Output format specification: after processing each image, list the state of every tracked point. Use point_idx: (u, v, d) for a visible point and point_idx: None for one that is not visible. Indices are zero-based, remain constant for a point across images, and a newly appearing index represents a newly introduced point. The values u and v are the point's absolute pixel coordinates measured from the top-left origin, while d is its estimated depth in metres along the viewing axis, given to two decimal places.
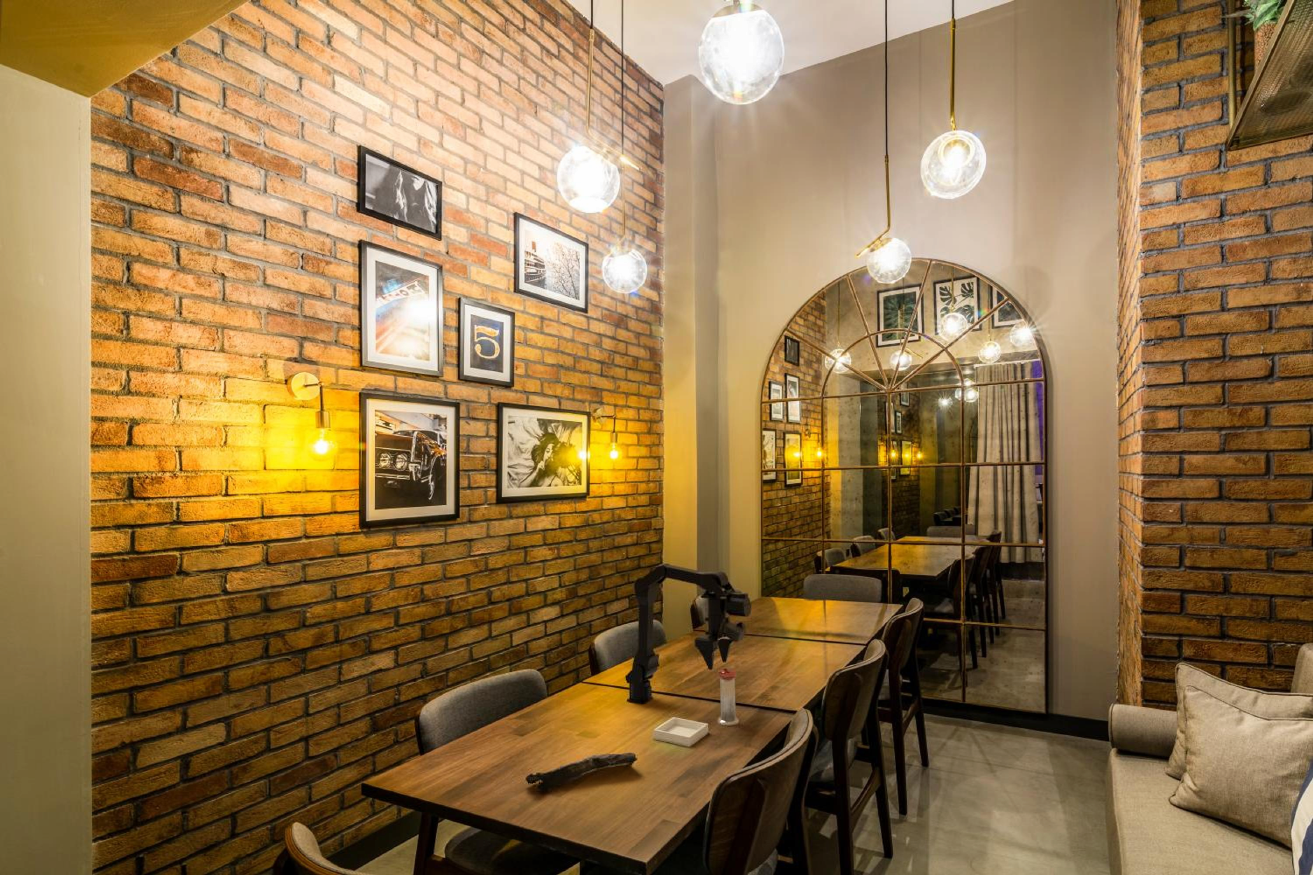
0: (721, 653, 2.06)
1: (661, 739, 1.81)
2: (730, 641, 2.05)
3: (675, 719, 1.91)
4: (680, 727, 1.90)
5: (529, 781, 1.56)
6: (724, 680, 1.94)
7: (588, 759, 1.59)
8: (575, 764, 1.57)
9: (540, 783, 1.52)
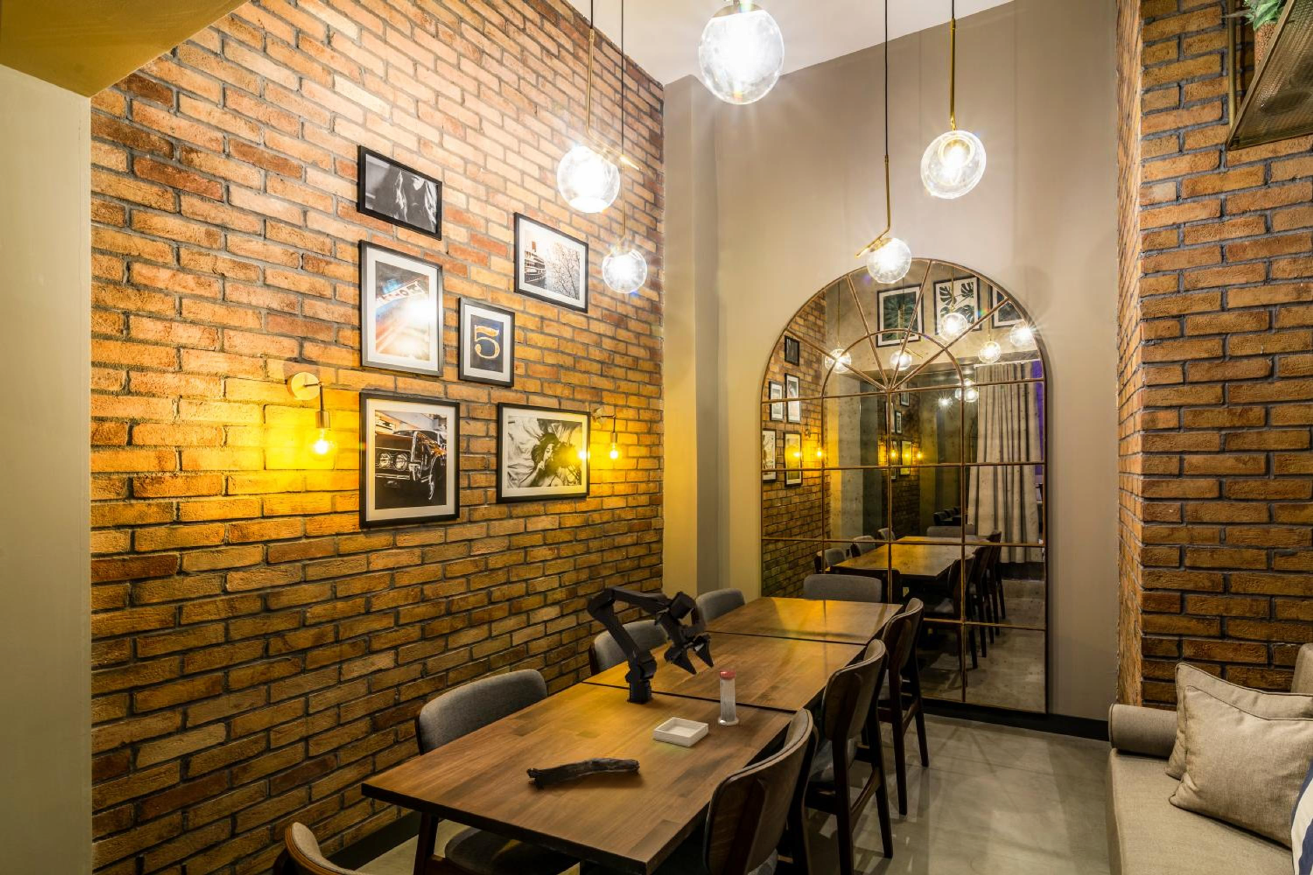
0: (705, 661, 2.06)
1: (661, 739, 1.81)
2: (704, 645, 2.07)
3: (675, 719, 1.91)
4: (680, 727, 1.90)
5: (531, 775, 1.59)
6: (724, 680, 1.94)
7: (588, 761, 1.58)
8: (574, 764, 1.57)
9: (536, 779, 1.54)
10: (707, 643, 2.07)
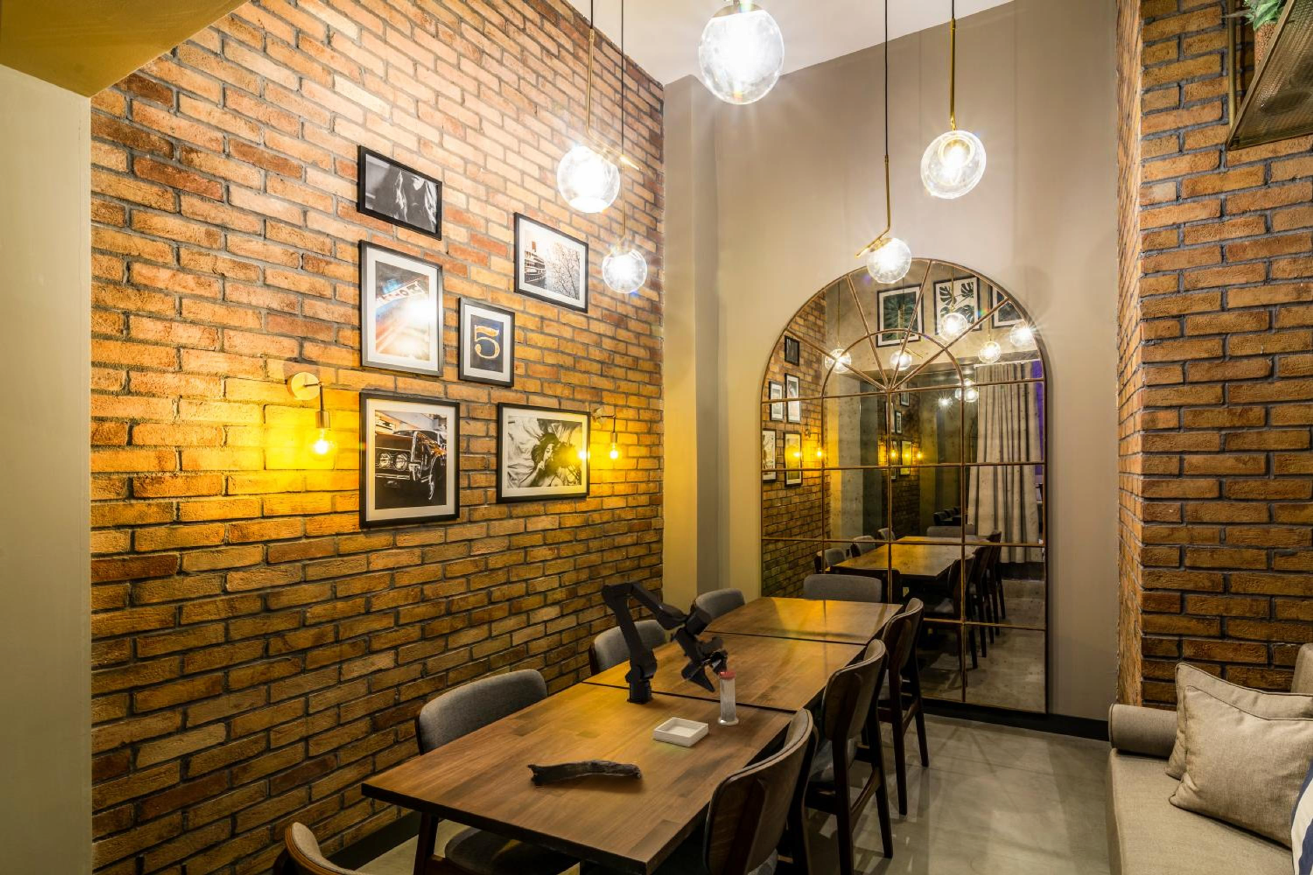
0: None
1: (661, 739, 1.81)
2: (722, 661, 2.03)
3: (675, 719, 1.91)
4: (680, 727, 1.90)
5: (534, 771, 1.61)
6: (724, 680, 1.94)
7: (587, 762, 1.57)
8: (572, 764, 1.57)
9: (534, 775, 1.56)
10: (724, 659, 2.03)
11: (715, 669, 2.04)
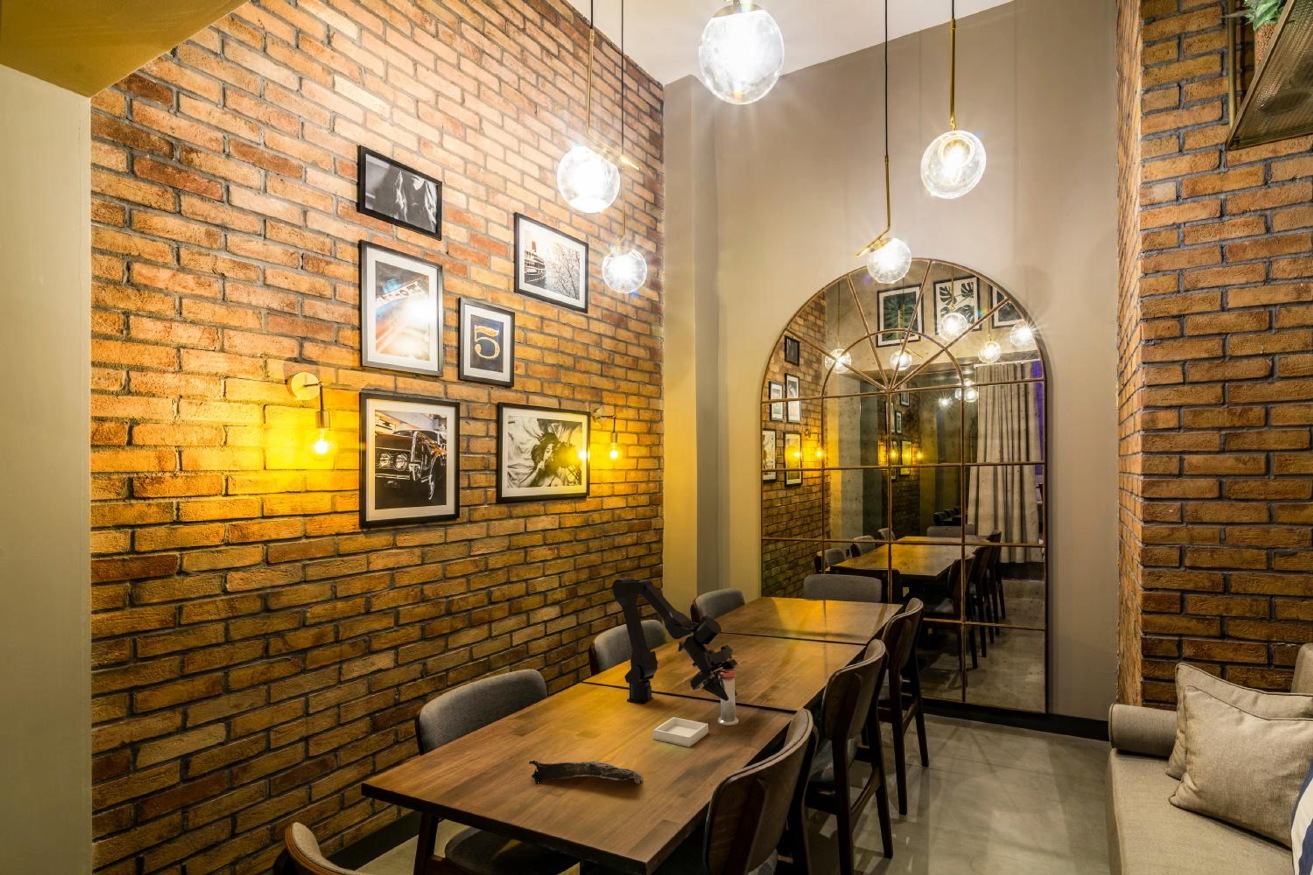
0: None
1: (661, 739, 1.81)
2: None
3: (675, 719, 1.91)
4: (680, 727, 1.90)
5: None
6: (724, 680, 1.94)
7: (585, 763, 1.56)
8: (571, 764, 1.57)
9: (535, 772, 1.58)
10: None
11: None
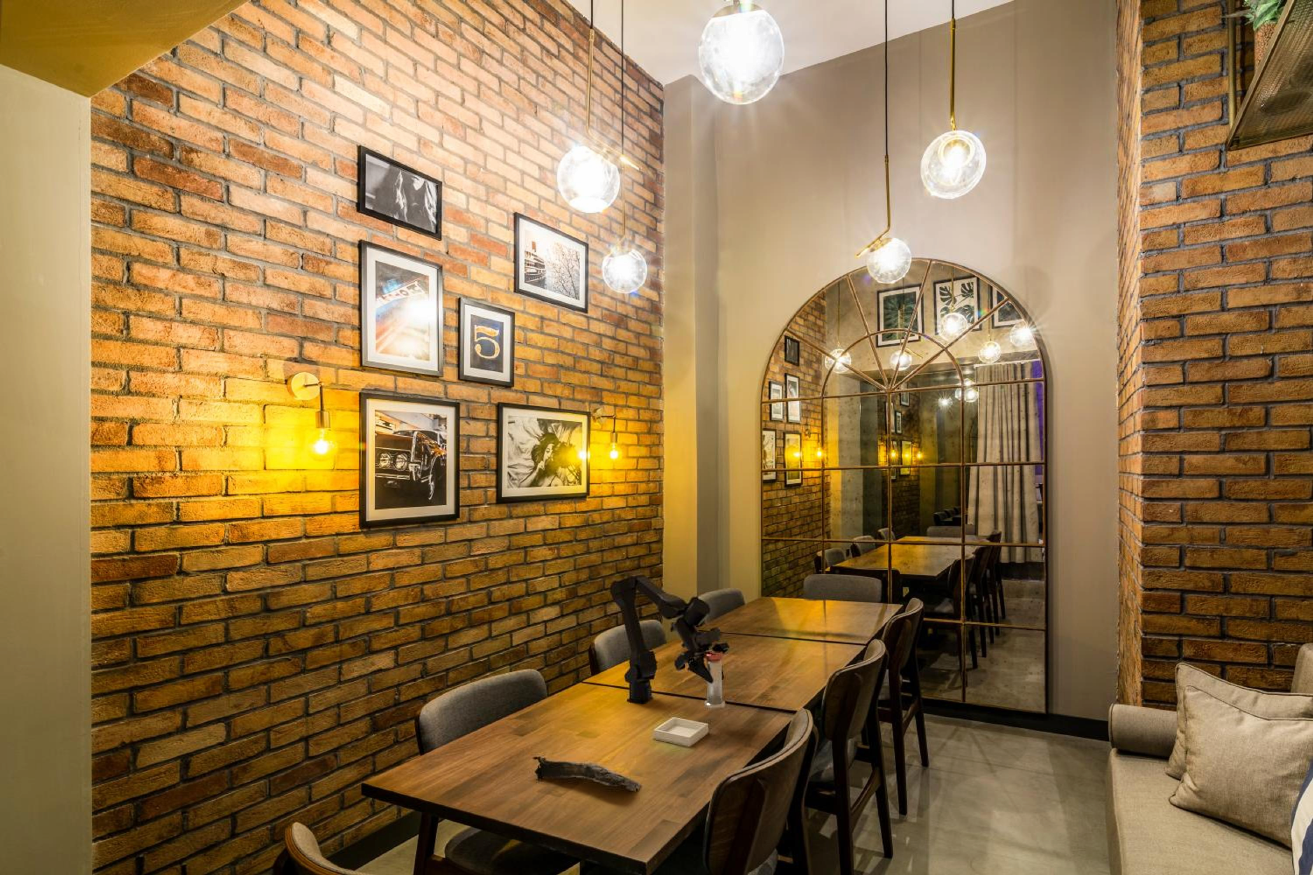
0: None
1: (661, 739, 1.81)
2: None
3: (675, 719, 1.91)
4: (680, 727, 1.90)
5: None
6: (709, 662, 1.90)
7: (583, 764, 1.56)
8: (570, 764, 1.57)
9: (538, 768, 1.60)
10: None
11: None
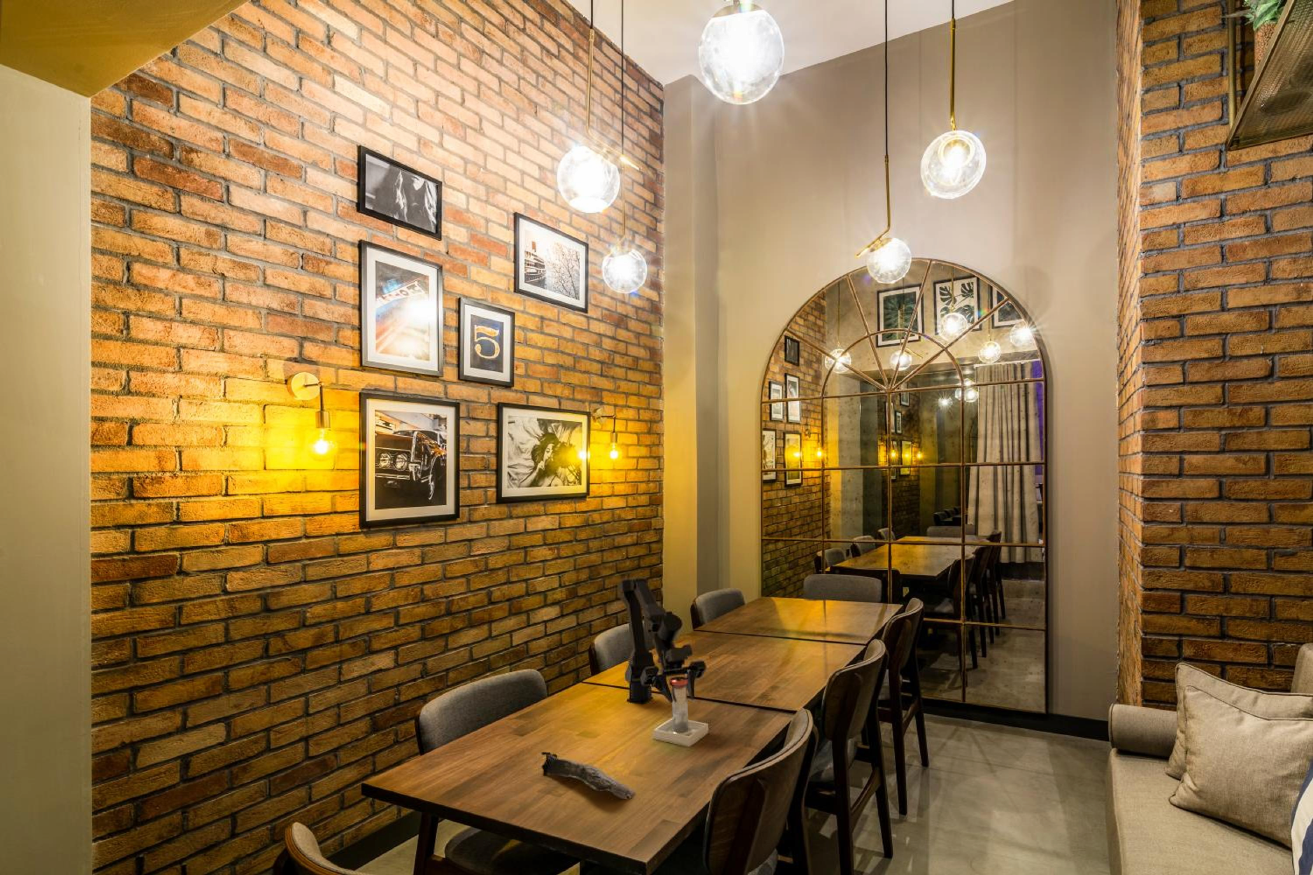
0: (689, 692, 1.88)
1: (661, 739, 1.81)
2: (689, 674, 1.89)
3: None
4: None
5: None
6: (672, 688, 1.85)
7: (580, 765, 1.55)
8: (570, 763, 1.57)
9: (544, 763, 1.63)
10: (692, 672, 1.89)
11: None
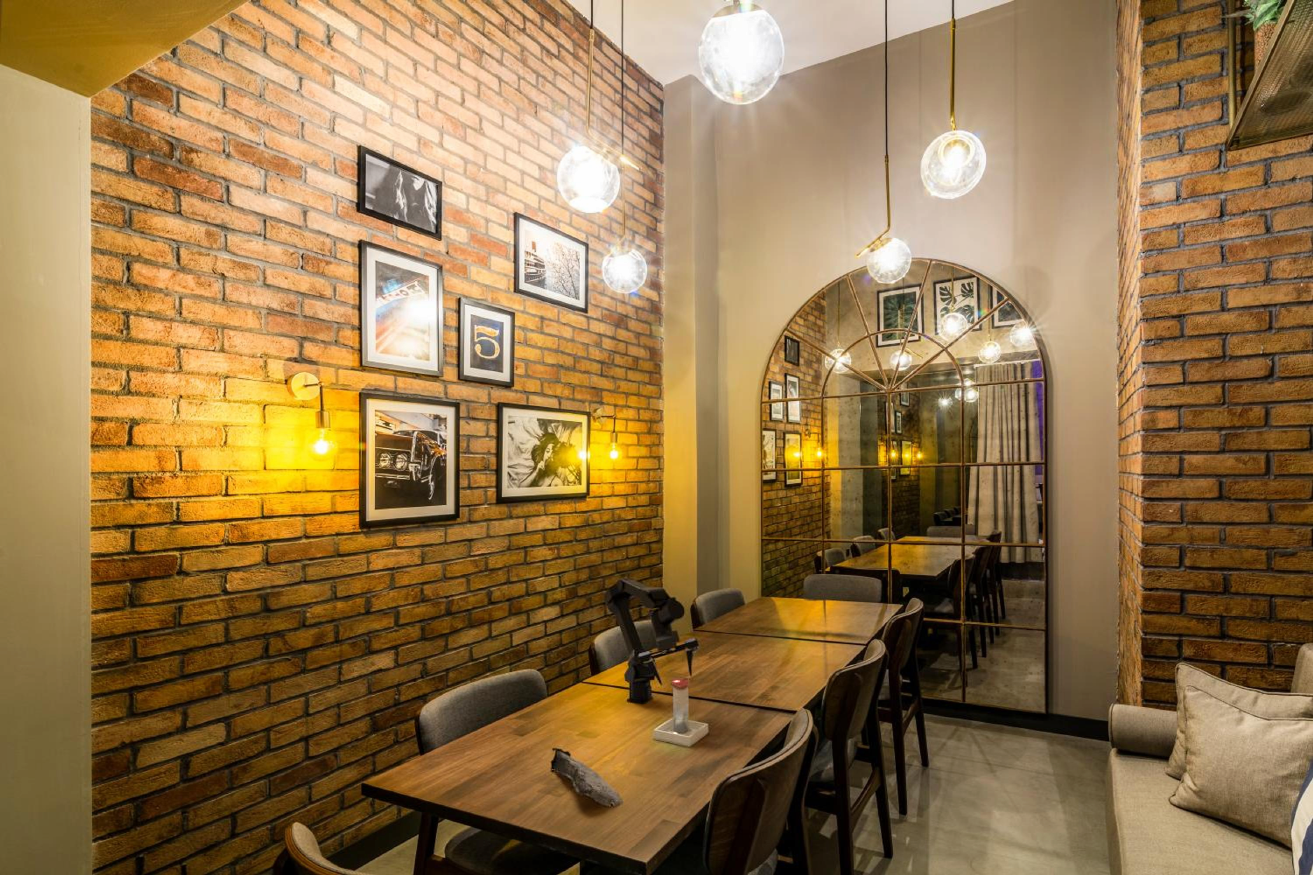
0: None
1: (661, 739, 1.81)
2: (686, 653, 1.99)
3: None
4: None
5: (570, 758, 1.68)
6: (673, 688, 1.85)
7: (575, 766, 1.55)
8: (569, 762, 1.58)
9: (553, 759, 1.65)
10: (688, 652, 1.99)
11: None
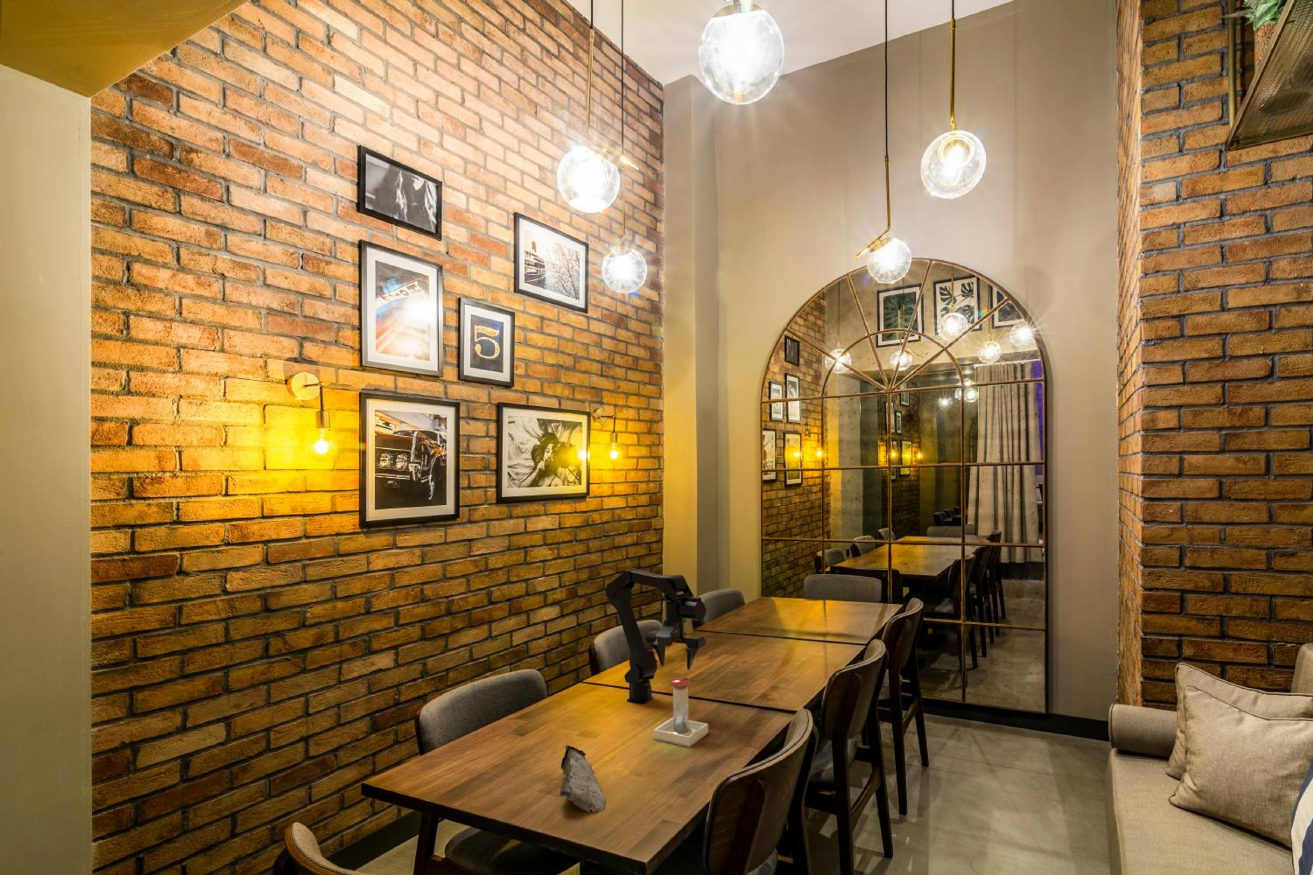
0: None
1: (661, 739, 1.81)
2: None
3: None
4: None
5: (584, 758, 1.68)
6: (673, 688, 1.85)
7: (571, 766, 1.55)
8: (569, 761, 1.58)
9: (564, 756, 1.67)
10: (688, 650, 2.01)
11: None
